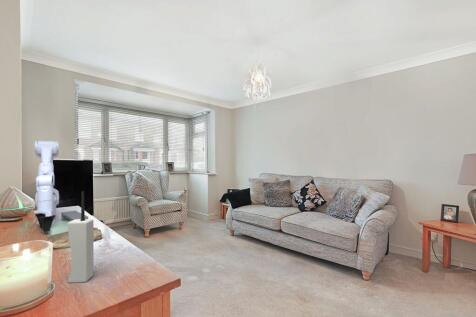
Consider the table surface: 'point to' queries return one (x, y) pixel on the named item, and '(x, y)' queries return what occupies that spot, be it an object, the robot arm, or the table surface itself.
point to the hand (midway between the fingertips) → (45, 229)
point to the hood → (71, 215)
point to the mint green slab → (59, 227)
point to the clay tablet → (63, 239)
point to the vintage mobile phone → (81, 248)
